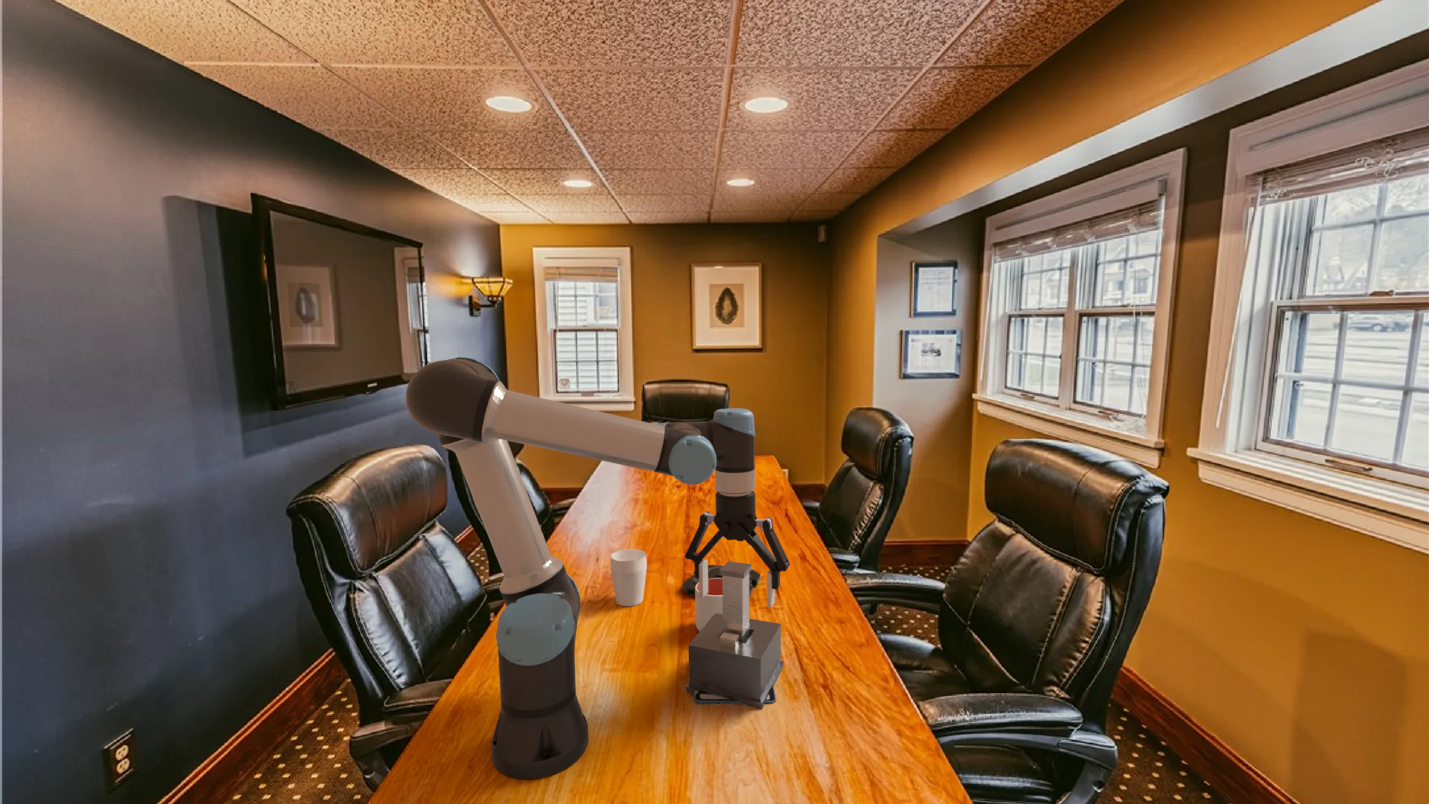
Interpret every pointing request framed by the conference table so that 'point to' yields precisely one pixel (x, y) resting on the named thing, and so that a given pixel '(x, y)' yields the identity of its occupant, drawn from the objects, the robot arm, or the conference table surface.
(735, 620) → the column
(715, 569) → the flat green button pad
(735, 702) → the smartphone
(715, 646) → the housing
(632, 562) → the cup
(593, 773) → the conference table surface
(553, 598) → the robot arm
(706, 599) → the cup
